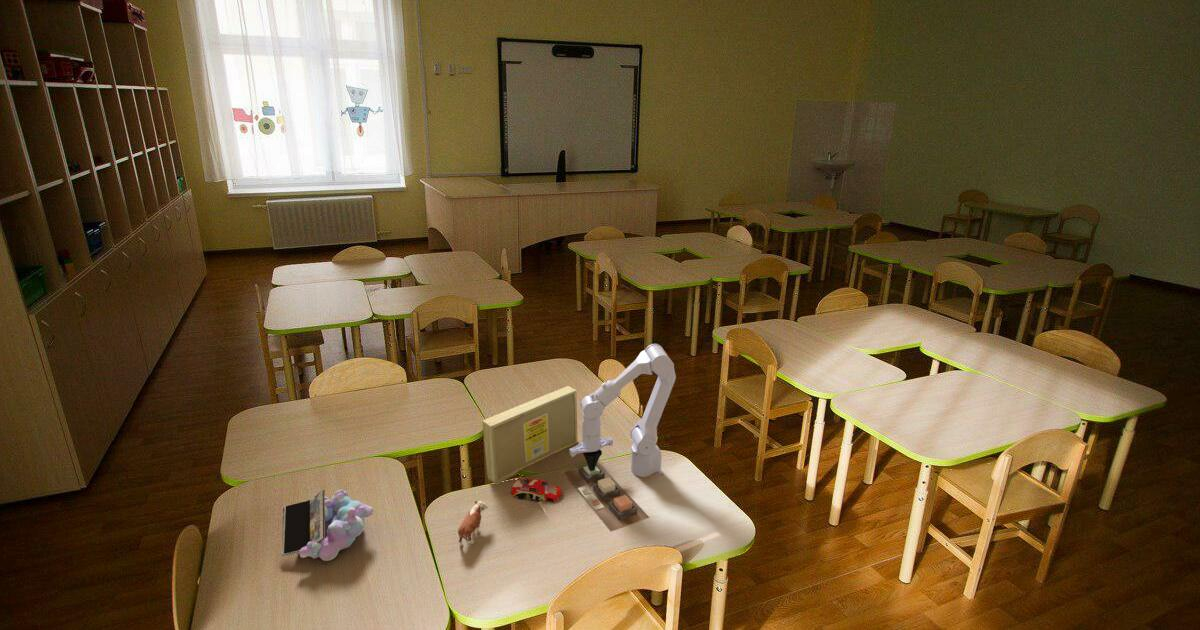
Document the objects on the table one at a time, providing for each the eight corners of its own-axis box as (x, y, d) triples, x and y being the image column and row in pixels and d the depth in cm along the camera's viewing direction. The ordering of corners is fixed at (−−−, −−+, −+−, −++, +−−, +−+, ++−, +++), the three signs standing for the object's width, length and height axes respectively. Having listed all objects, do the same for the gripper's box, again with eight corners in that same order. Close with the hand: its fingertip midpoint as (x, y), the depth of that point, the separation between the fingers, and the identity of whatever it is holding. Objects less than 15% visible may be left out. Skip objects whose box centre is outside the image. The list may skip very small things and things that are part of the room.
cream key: (609, 483, 199) (609, 477, 198) (615, 490, 195) (615, 484, 195) (597, 487, 197) (597, 480, 196) (603, 494, 194) (604, 487, 193)
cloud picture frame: (392, 522, 178) (363, 466, 177) (330, 569, 160) (296, 507, 159) (351, 534, 189) (323, 481, 188) (288, 579, 170) (257, 521, 169)
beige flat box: (569, 439, 227) (568, 385, 219) (578, 444, 224) (577, 389, 216) (486, 478, 205) (482, 420, 197) (494, 485, 202) (490, 425, 194)
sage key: (594, 470, 207) (594, 463, 206) (599, 476, 204) (599, 470, 203) (583, 473, 206) (583, 467, 205) (588, 480, 202) (588, 473, 201)
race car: (565, 494, 198) (565, 480, 196) (559, 507, 192) (558, 493, 190) (517, 485, 202) (516, 472, 200) (509, 498, 196) (508, 484, 194)
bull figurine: (491, 521, 185) (489, 498, 182) (467, 552, 173) (465, 528, 171) (478, 518, 187) (476, 495, 184) (453, 548, 175) (451, 524, 172)
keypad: (597, 464, 213) (597, 456, 212) (649, 519, 186) (649, 511, 185) (562, 474, 207) (562, 467, 206) (610, 534, 181) (610, 525, 180)
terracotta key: (625, 501, 191) (625, 494, 190) (632, 509, 187) (632, 502, 186) (613, 505, 189) (613, 498, 188) (620, 513, 185) (620, 506, 185)
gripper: (605, 420, 206) (605, 456, 210) (565, 432, 199) (565, 468, 204) (616, 431, 200) (615, 467, 205) (575, 442, 193) (575, 480, 198)
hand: (591, 469), depth 204 cm, fingers closed, pressing on sage key
